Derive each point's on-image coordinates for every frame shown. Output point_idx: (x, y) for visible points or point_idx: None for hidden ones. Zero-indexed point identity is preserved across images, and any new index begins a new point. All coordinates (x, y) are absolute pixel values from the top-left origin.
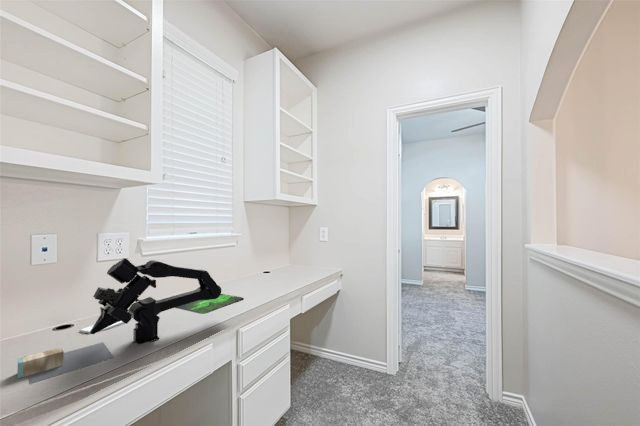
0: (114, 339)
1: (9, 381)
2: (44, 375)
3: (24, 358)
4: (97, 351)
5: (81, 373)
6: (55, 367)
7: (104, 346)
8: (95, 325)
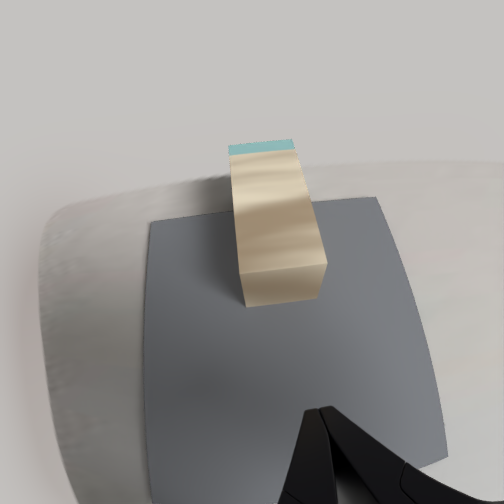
0: None
1: None
2: (188, 252)
3: (274, 153)
4: None
5: (110, 368)
6: None
7: None
8: (319, 455)
